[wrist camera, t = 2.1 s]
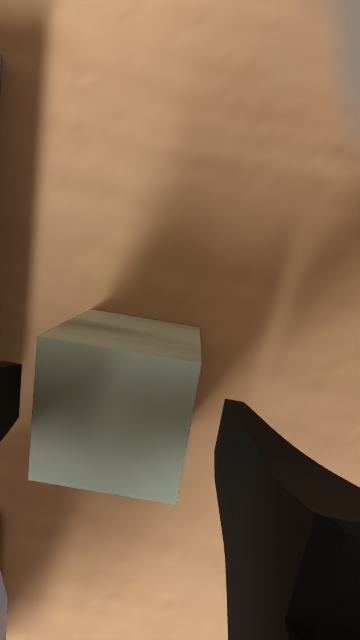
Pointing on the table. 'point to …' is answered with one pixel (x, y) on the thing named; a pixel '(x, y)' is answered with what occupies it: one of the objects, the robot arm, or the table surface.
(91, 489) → the sage green cube
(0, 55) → the stacking base
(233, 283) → the table surface
